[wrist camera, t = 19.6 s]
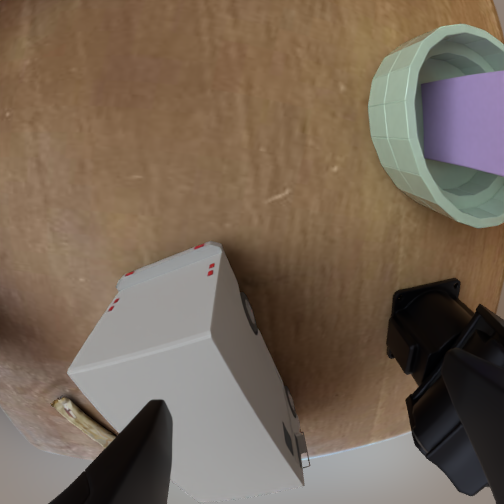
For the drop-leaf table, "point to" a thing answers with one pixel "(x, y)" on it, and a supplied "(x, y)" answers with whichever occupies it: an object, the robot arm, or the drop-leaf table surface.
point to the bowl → (411, 123)
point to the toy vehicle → (196, 376)
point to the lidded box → (465, 121)
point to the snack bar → (83, 421)
